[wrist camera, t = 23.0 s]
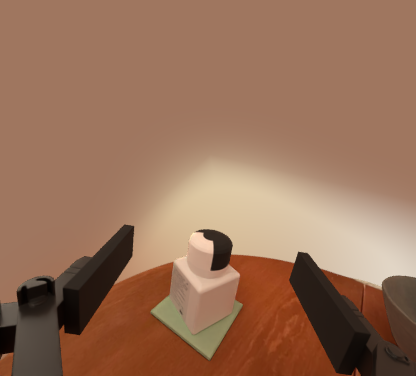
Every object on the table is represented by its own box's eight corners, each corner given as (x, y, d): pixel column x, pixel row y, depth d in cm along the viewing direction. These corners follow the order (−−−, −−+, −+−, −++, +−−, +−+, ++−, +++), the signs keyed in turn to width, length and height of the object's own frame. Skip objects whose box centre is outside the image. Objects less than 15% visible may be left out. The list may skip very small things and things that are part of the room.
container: (205, 283, 38) (216, 221, 35) (232, 314, 33) (248, 244, 29) (168, 297, 34) (176, 228, 30) (192, 337, 28) (206, 257, 25)
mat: (150, 313, 31) (150, 310, 31) (192, 276, 40) (192, 274, 40) (209, 361, 26) (210, 358, 26) (242, 306, 35) (242, 304, 35)
